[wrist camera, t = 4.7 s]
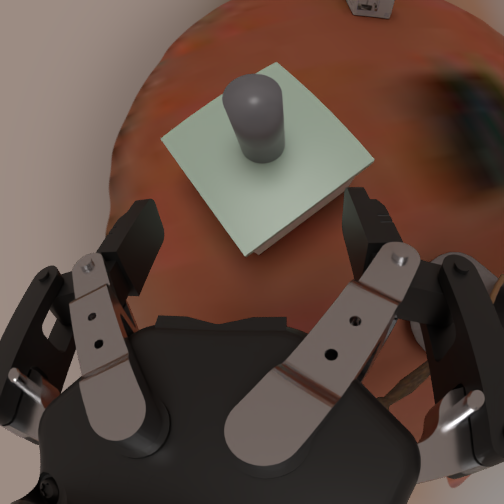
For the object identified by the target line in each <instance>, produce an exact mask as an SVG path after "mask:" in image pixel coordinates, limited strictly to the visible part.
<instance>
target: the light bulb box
mask: <svg viewBox="0 0 504 504" xmlns="http://www.w3.org/2000/svg"><path fill="white" fill-rule="evenodd" d="M346 1H347V3H348V5H349V7H350V9H351V11H352V13H353V15H361V16H371V17H380V18H387V19H389V18H390V15H391V11H392V8H393V4H394V1H395V0H346Z"/></svg>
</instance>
